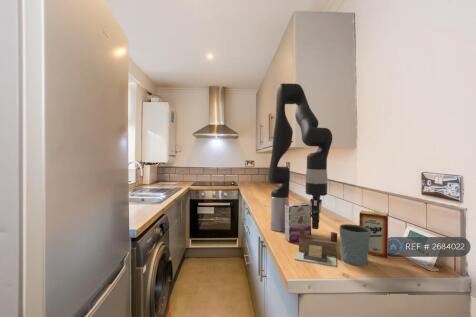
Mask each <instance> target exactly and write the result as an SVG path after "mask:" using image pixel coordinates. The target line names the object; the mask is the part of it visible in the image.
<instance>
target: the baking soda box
mask: <svg viewBox="0 0 476 317" xmlns="http://www.w3.org/2000/svg"><path fill="white" fill-rule="evenodd" d="M359 226H363V227H366V228H368V229H370V231H371V232H370V239H369V249H368V255H372V256H376V257H382V258H388V256H389V213H388V212H381V211H373V210H372V211H370V210H361V211H360V212H359Z"/></svg>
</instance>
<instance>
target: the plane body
mask: <svg viewBox="0 0 476 317" xmlns="http://www.w3.org/2000/svg"><path fill="white" fill-rule="evenodd" d="M337 242H338V233H337V232H335V231H330V237H324V236H318V235H317V236H315V235H311V236H308V235H305V226H302V225H301V227H300V237H299V242H298V252H300V253H304V252H309V245H315V246H322V254H324V255H327V256H328V257H335V258H337V257H338V243H337Z"/></svg>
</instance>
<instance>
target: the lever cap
mask: <svg viewBox="0 0 476 317" xmlns="http://www.w3.org/2000/svg"><path fill="white" fill-rule="evenodd" d="M303 253H304V258H303V259H309V260H316V261H322V262H327V255H324V254H322V246H315V245H309V252H303Z"/></svg>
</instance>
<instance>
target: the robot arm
mask: <svg viewBox="0 0 476 317" xmlns="http://www.w3.org/2000/svg"><path fill="white" fill-rule="evenodd" d="M275 99H276V100H275V101H276V105H275V106H276V107H275V119H274V120H275V121H274V122H275V123H274V129H273V135H272V136H273V137H272V148H271V157H270V164H269V167H268V182H269V184H273V185H274V184H275V185H276V184H277V185H278V184H279V185H281V186H280V187H279V188H275V189H274V190H271V192H270V193H271V194H270V196H271V197H270V230H272V231H274V232H285V204H290V201H289V200H290V199H289V196H290V182H291V181H290V179H291V171H290V170H291V169H290V168H289V167H288V166H278V165H279V162H280V160H281V159H282V158H283V156H284V155H285V154H286V153H287V151H288V150H289V149H290V148H291V146H292V141H293V134H294V131H293V127H292V126H291V123H290V122H289V120H288V118H287V115H286V105H296V106H297V108H296V111H295V114H294V116H295V120H296V123H297V124H298V126H299V128H300V130H301V131H300V132H301V140H302V142H303V144H304V145H305V146H307V147H315V148H316V147H317V150H316V151H315V152H311V153H308V155H307V157H306V172H305V194H306V195H308V196H312V198H310V203H309V204H310V205H311V229H313V230H319V224H320V213H321V212H322V205H323V202H322V201H323V199H321V197H324V196H327V195H328V164H327V163H328V157H329V153H330V148H331V146H332V143H333V132H332V131H331V129H329V128H327V127H319V120H318V118H317V117H316V116H315V113H314V112H313V111H312V109H311V108H310V105H309V103H308V102H309V101H308V100H307V96H306V94H305V92H304V89H303V87H302V86H301V84H300V83H283V82H282V83H280V84H279V85H278V86H277V89H276V98H275Z"/></svg>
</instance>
